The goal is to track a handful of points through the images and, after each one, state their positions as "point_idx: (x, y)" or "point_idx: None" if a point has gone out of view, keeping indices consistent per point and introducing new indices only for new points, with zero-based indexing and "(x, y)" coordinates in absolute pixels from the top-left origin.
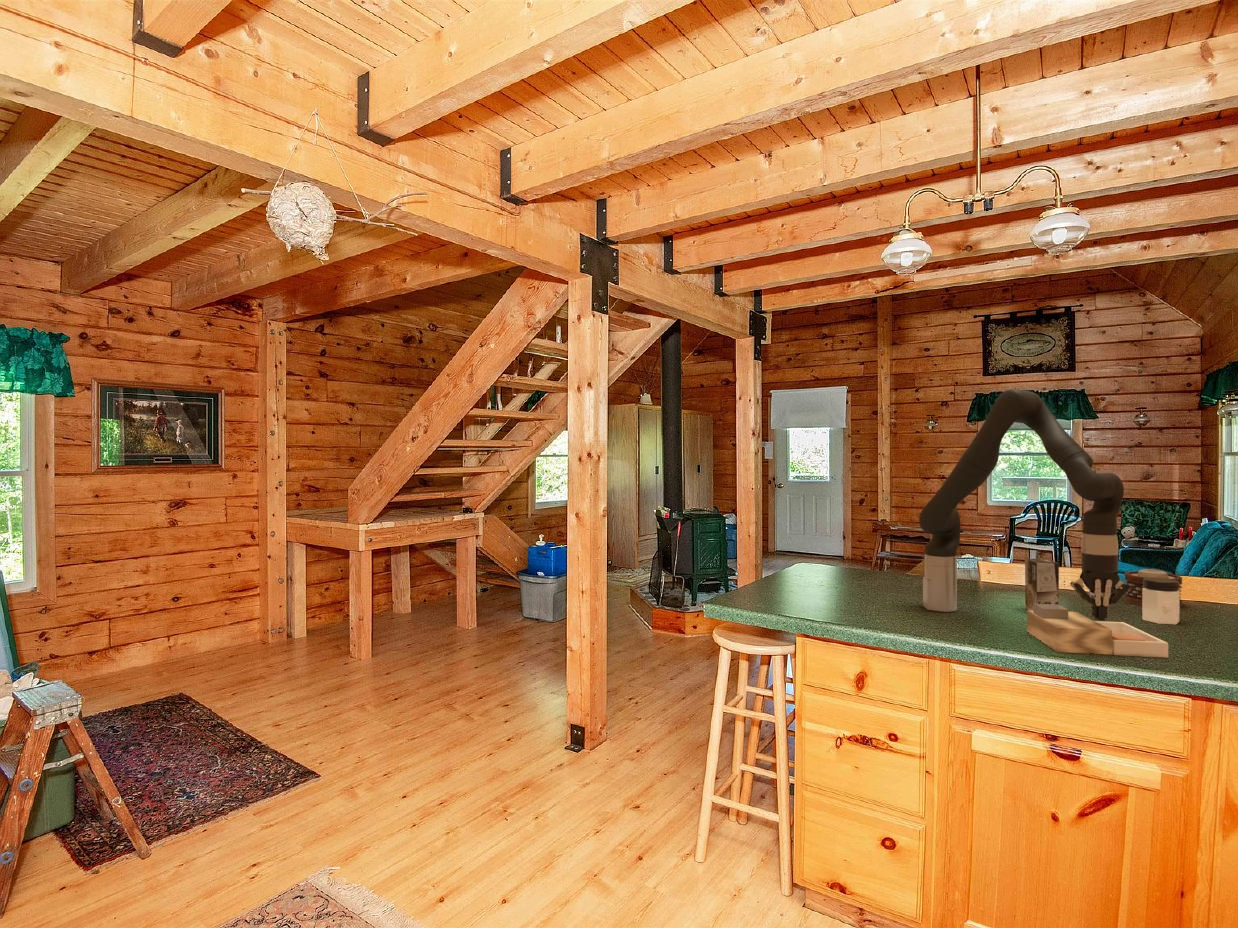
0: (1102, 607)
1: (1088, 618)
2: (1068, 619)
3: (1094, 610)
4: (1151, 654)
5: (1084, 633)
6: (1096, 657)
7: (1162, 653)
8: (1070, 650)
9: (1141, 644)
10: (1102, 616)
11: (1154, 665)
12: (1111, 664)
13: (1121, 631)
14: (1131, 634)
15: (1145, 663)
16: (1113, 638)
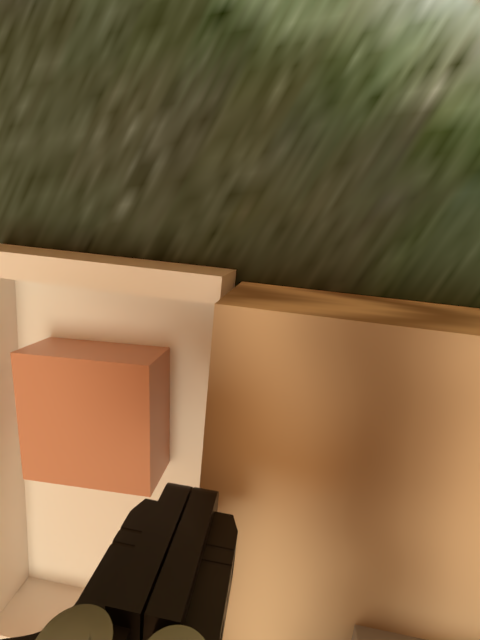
0: (138, 597)
1: None
2: (361, 614)
3: (227, 588)
4: (63, 251)
5: (424, 320)
6: (364, 217)
7: (10, 246)
8: (463, 307)
9: (76, 258)
10: (177, 507)
11: (136, 84)
12: (368, 72)
13: (19, 587)
14: (30, 457)
15: (162, 120)
16: (153, 411)
